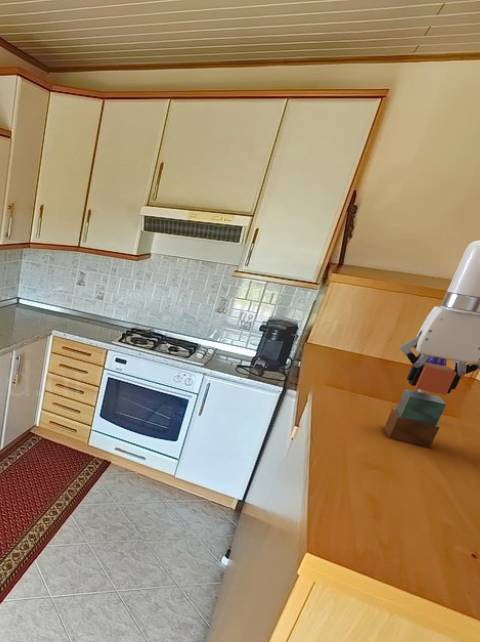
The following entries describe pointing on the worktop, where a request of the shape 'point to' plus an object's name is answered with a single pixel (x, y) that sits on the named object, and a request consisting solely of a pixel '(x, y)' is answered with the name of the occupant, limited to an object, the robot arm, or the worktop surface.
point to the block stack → (415, 418)
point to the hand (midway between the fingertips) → (428, 386)
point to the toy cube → (435, 378)
